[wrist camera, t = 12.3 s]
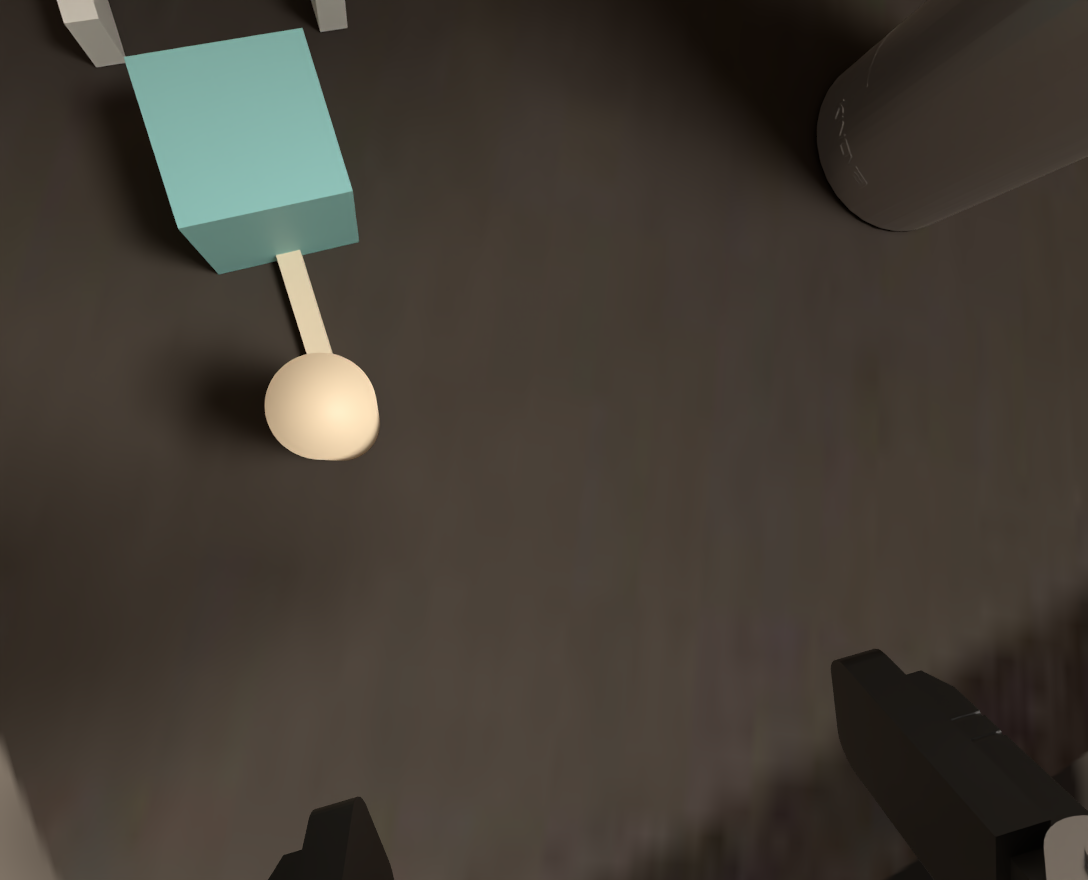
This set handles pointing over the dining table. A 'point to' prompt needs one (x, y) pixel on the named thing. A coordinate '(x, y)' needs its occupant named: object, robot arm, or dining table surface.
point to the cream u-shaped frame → (101, 42)
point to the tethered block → (263, 205)
